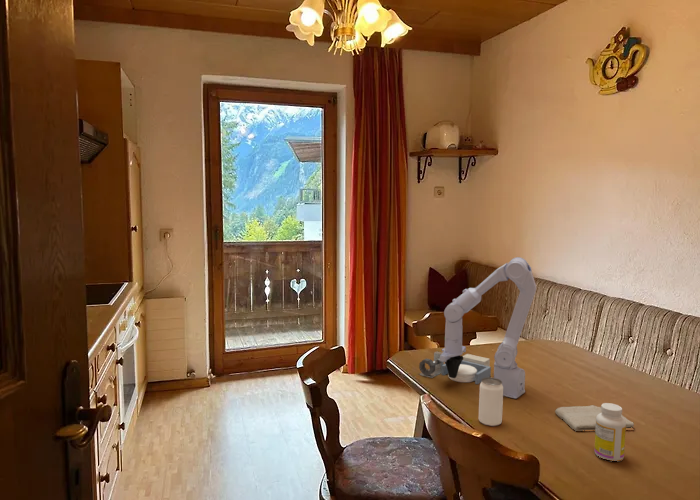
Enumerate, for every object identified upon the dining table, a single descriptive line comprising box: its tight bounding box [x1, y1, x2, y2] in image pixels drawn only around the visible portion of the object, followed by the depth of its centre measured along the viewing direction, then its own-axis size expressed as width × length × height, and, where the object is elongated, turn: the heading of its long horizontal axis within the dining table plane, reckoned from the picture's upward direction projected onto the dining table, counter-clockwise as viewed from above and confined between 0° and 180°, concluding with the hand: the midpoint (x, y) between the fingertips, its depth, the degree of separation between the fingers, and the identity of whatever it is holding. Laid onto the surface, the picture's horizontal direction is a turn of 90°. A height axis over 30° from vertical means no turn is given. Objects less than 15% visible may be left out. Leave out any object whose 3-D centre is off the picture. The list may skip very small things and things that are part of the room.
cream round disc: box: [447, 364, 477, 383], centre depth 183 cm, size 10×10×4 cm
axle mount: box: [419, 351, 445, 379], centre depth 188 cm, size 5×10×6 cm, turn 140°
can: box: [478, 377, 504, 427], centre depth 148 cm, size 6×6×12 cm
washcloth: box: [554, 404, 635, 432], centre depth 149 cm, size 12×18×3 cm, turn 95°
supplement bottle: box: [593, 402, 627, 462], centre depth 129 cm, size 7×7×13 cm
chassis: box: [440, 353, 492, 385], centre depth 187 cm, size 14×14×5 cm
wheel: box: [418, 358, 435, 375], centre depth 185 cm, size 5×2×5 cm, turn 50°
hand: (452, 377), depth 177 cm, fingers closed
